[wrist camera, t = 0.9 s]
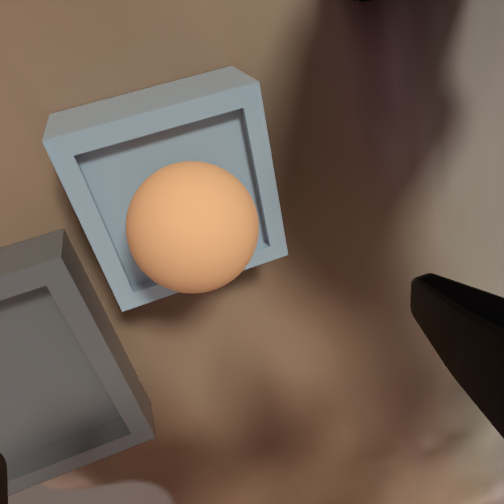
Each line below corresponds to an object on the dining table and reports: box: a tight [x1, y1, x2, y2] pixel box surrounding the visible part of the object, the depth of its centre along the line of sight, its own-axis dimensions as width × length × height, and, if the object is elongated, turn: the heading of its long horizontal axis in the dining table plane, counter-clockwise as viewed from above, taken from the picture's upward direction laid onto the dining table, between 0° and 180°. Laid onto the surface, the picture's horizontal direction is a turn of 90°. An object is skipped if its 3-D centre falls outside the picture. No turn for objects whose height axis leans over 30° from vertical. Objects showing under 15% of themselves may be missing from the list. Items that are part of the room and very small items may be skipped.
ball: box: [126, 161, 259, 293], centre depth 15 cm, size 4×4×4 cm
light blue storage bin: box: [42, 66, 288, 312], centre depth 18 cm, size 7×7×4 cm
